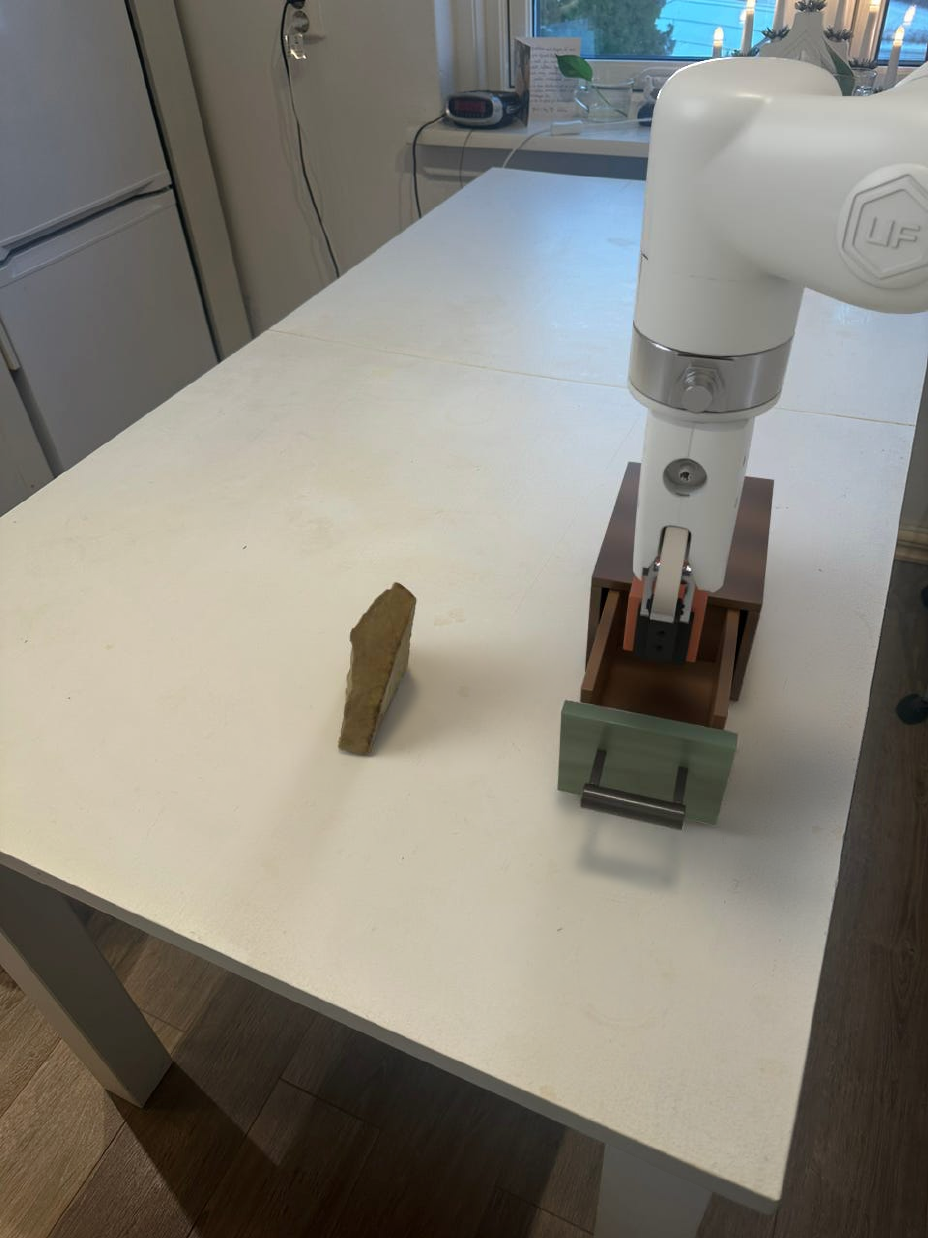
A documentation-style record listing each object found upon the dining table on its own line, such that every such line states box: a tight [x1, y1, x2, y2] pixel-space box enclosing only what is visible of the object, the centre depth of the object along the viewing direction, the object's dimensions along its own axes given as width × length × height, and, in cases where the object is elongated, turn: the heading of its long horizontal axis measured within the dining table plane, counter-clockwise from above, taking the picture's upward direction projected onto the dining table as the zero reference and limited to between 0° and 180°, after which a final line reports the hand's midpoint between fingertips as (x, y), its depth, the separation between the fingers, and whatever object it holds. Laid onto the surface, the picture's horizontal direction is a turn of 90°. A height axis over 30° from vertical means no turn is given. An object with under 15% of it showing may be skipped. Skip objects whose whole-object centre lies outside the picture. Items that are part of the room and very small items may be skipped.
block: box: [623, 559, 708, 662], centre depth 54 cm, size 4×4×4 cm
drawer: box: [557, 588, 740, 832], centre depth 58 cm, size 19×10×8 cm, turn 162°
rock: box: [337, 581, 417, 755], centre depth 64 cm, size 11×9×10 cm
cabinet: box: [584, 460, 775, 702], centre depth 69 cm, size 16×12×10 cm
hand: (665, 628), depth 55 cm, fingers closed on block, 4 cm apart
